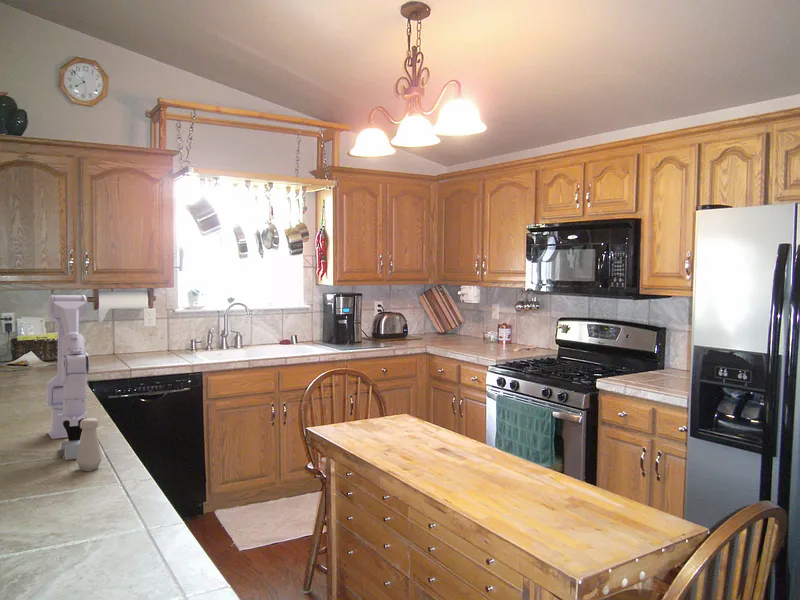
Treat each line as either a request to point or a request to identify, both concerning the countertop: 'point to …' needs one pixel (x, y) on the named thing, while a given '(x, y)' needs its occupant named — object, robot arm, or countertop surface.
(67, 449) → the block
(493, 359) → the countertop surface
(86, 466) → the salt shaker
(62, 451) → the grey flat bars
